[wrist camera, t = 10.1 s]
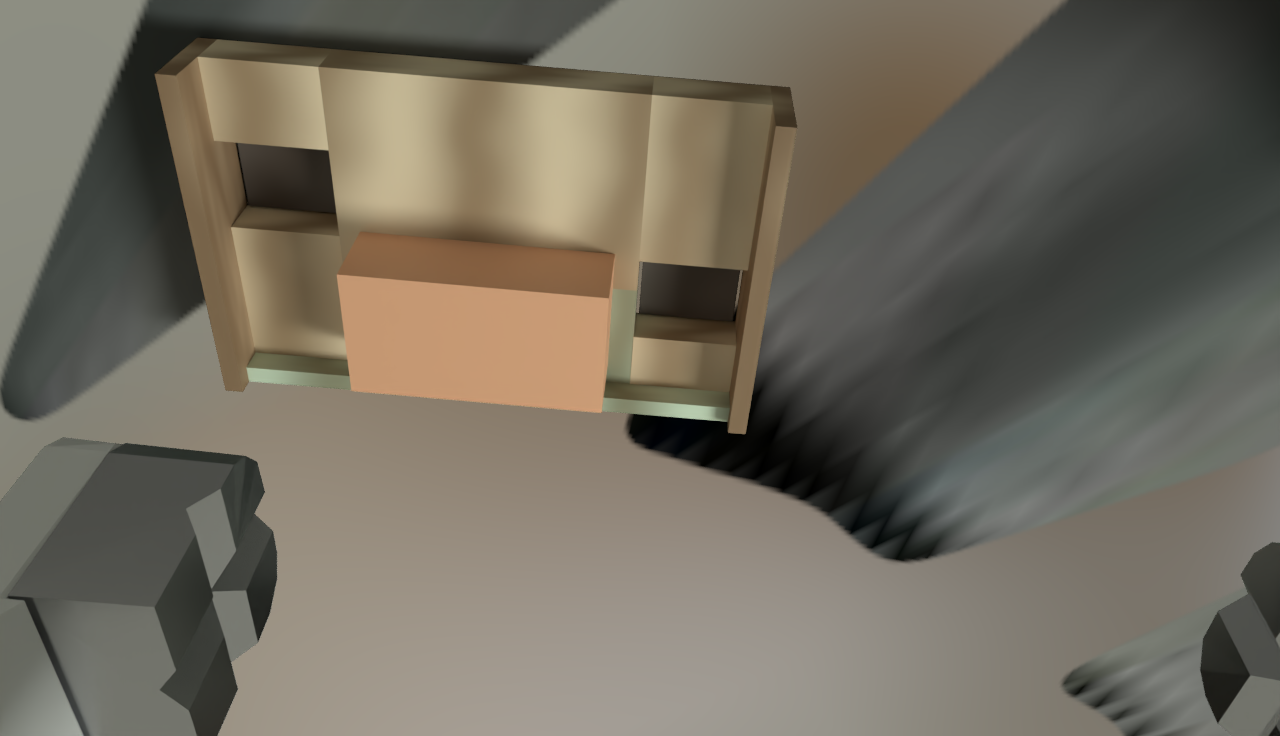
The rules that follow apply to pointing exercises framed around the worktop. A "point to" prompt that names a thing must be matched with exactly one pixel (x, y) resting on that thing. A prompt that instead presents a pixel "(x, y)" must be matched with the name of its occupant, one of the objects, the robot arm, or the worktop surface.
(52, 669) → the robot arm
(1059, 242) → the worktop surface
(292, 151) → the trap board
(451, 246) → the block
